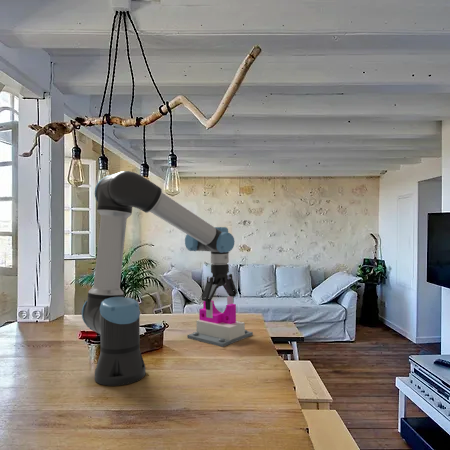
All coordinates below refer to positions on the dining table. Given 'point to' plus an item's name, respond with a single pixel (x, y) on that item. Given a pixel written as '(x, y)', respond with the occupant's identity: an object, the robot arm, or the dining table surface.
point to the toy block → (219, 314)
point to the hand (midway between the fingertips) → (220, 314)
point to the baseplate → (216, 340)
